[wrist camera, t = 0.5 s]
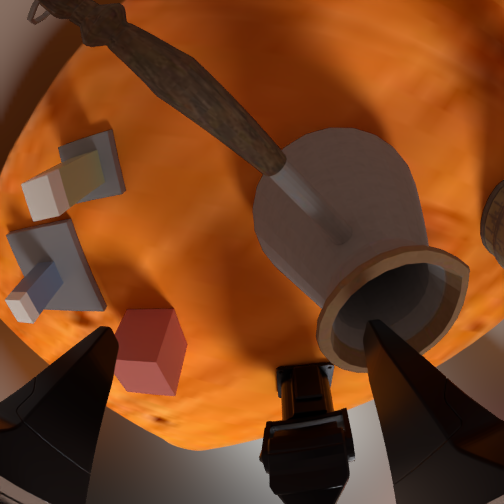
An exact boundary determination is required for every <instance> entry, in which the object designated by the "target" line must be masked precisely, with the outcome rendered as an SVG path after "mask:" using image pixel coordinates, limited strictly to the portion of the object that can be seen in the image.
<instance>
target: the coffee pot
mask: <svg viewBox="0 0 504 504" xmlns="http://www.w3.org/2000/svg"><path fill="white" fill-rule="evenodd" d="M39 4H40V5H41V6H43V7H44V8H45V9H46V10H47V11H46V12H45V13H43V15H41V16H39V17H38V18H36V19H33V18H34V15H35V12H36V10H37V7H38V5H39ZM50 14H52V15H53V16H54V17H56V18H59V19H70V21H71V22H73V23H74V24H76V25H78V26H79V27H80V30H81V36H82V41H83V44H85V45H86V46H90V47H95V46H103V45H106V46H108V48H109V49H110V50H111V51H112V52H113V53H114V54H115V55H116V56H117V57H118V58H120V59H121V60H122V61H123V62H124V63H125V64H126V65H127V66H128V67H129V68H130V69H131V70H132V71H133V72H134V73H135V74H136V75H137V76H138V77H139V78H140V79H141V80H142V81H143V82H144V83H145V84H146V85H147V86H148V87H149V88H150V89H151V90H152V91H153V92H154V94H155V95H156V96H157V97H159V98H160V99H162V100H163V101H165V102H166V103H168V104H169V105H171V106H172V107H173V108H175V109H176V110H178V111H179V112H181V113H182V114H184V115H185V116H186V117H188V118H189V119H191V120H192V121H193V122H195V123H196V124H198V125H199V126H200V127H202V128H203V129H205V130H206V131H207V132H209V133H210V134H211V135H213V136H214V137H215V138H217V139H218V140H220V141H221V142H222V143H224V144H225V145H226V146H228V147H229V148H230V149H232V150H233V151H234V152H235V153H237V154H238V155H239V156H241V157H242V158H243V159H245V160H246V161H247V162H248V163H250V164H251V165H252V166H254V167H255V168H256V169H257V170H259V171H260V172H261V173H262V174H263V176H262V178H261V180H260V182H259V184H258V186H257V189H256V194H255V199H254V204H253V218H254V229H255V232H256V235H257V237H258V240H259V242H260V245H261V247H262V250H263V252H264V253H265V254H266V255H267V257H268V258H269V259H270V260H271V262H272V263H273V264H274V266H275V267H276V268H278V269H279V270H280V271H281V272H282V273H283V274H284V275H285V276H286V277H287V278H289V279H290V280H291V281H292V282H293V283H294V284H295V285H296V286H297V287H298V288H300V289H301V290H302V291H303V292H304V293H305V294H306V295H307V296H308V297H310V298H311V299H312V300H313V301H314V302H315V303H316V304H317V305H318V306H319V307H321V308H322V310H321V312H320V315H319V317H318V320H317V331H316V338H317V341H318V345H319V348H320V350H321V352H322V353H323V354H324V355H325V357H326V358H327V359H328V360H329V361H330V362H331V363H332V364H334V365H336V366H338V367H339V368H341V369H344V370H348V371H352V372H357V373H368V370H367V363H366V357H365V351H364V345H363V336H364V332H365V328H366V323H367V321H368V320H373V319H380V320H381V321H382V322H384V323H385V324H386V325H387V326H388V327H389V328H391V329H392V330H393V331H394V332H395V333H396V334H398V335H399V336H400V337H401V338H402V339H403V340H405V341H406V342H407V343H408V344H409V345H410V346H412V347H413V348H414V349H415V350H416V351H417V352H418V353H420V354H421V355H423V354H424V353H426V352H427V351H428V350H430V349H431V348H432V347H434V346H435V345H436V344H437V343H438V342H439V341H440V340H441V339H442V338H443V337H444V336H445V335H446V334H447V333H448V331H449V330H450V328H451V327H452V325H453V324H454V322H455V321H456V319H457V318H458V315H459V313H460V311H461V308H462V306H463V303H464V300H465V296H466V292H467V288H468V281H469V272H470V269H469V266H468V265H466V264H465V263H464V262H463V261H461V260H460V259H459V258H458V257H456V256H454V255H452V254H450V253H448V252H446V251H444V250H441V249H438V248H434V247H430V246H429V245H428V239H427V234H426V228H425V223H424V218H423V214H422V209H421V205H420V200H419V196H418V192H417V188H416V184H415V182H414V179H413V177H412V174H411V172H410V169H409V167H408V165H407V164H406V162H405V161H404V160H403V159H402V157H401V156H400V155H399V154H398V152H397V151H396V150H395V149H394V148H393V147H392V146H391V145H389V144H388V143H386V142H385V141H383V140H382V139H381V138H379V137H378V136H376V135H374V134H371V133H368V132H365V131H361V130H358V129H355V128H327V129H323V130H319V131H316V132H312V133H309V134H305V135H304V136H302V137H300V138H299V139H297V140H296V141H294V142H292V143H291V144H289V145H288V146H286V147H284V148H283V149H282V150H281V149H280V148H279V147H278V146H277V145H276V143H275V142H274V141H273V140H272V139H271V138H270V137H269V135H268V134H267V133H266V132H265V131H264V130H263V129H262V128H261V126H260V125H259V124H258V123H257V122H256V121H255V120H254V119H253V118H252V117H251V116H250V114H249V113H248V112H247V111H246V110H245V109H244V108H243V107H242V106H241V105H240V104H239V103H238V102H237V101H236V100H235V99H234V97H233V96H232V95H231V94H230V93H229V92H228V91H227V90H226V89H225V88H224V87H223V86H222V85H221V84H220V83H219V82H218V81H217V80H216V79H215V78H214V77H213V76H212V75H211V74H210V73H209V72H208V71H207V70H206V69H205V68H204V67H203V66H201V65H200V64H199V63H198V62H197V61H196V60H195V59H194V58H193V57H191V56H189V55H188V54H186V53H184V52H182V51H180V50H178V49H176V48H175V47H173V46H171V45H170V44H168V43H166V42H164V41H163V40H161V39H159V38H157V37H156V36H154V35H152V34H150V33H148V32H146V31H145V30H143V29H141V28H139V27H137V26H135V25H133V24H131V23H128V22H127V20H126V12H125V8H124V6H123V5H121V4H120V3H117V4H105V5H99V4H98V3H96V2H95V1H93V0H35V1H34V2H33V4H32V6H31V8H30V11H29V14H28V17H27V20H29V21H30V22H31V23H33V24H35V25H36V24H37V23H39V22H41V21H43V20H44V19H45V18H47V17H48V16H49V15H50Z"/></svg>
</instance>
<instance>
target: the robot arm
mask: <svg viewBox="0 0 504 504" xmlns="http://www.w3.org/2000/svg"><path fill="white" fill-rule="evenodd" d="M363 345H364V351H365V357H366V363H367V370H368V376H369V382H370V386H371V390H372V393H373V397H374V401H375V405H376V408H377V413H378V417H379V420H380V425H381V429H382V433H383V437H384V442H385V446H386V451H387V456H388V460H389V465H390V470H391V475H392V480H393V484H394V486H393V487H394V492H395V498H396V504H504V421H503V420H501V419H499V418H498V417H496V416H495V415H493V414H492V413H491V412H489V411H488V410H487V409H485V408H484V407H483V406H481V405H480V404H478V403H477V402H476V401H474V400H473V399H472V398H470V397H469V396H468V395H467V394H465V393H464V392H463V391H462V390H460V389H459V388H458V387H457V386H456V385H455V384H454V383H452V382H451V381H450V380H449V379H448V378H447V379H446V376H445V375H443V374H442V373H441V372H440V371H439V370H438V369H437V368H436V367H434V366H433V365H432V364H431V363H430V362H429V361H428V360H426V359H425V358H424V357H423V356H422V355H421V354H420V353H418V352H417V351H416V350H415V349H414V348H413V347H412V346H410V345H409V344H408V343H407V342H406V341H405V340H403V339H402V338H401V337H400V336H399V335H398V334H396V333H395V332H394V331H393V330H392V329H391V328H389V327H388V326H387V325H386V324H385V323H384V322H382V321H381V320H380V319H373V320H368V321H367V323H366V328H365V332H364V336H363ZM118 350H119V343H118V341H117V339H116V337H115V335H114V333H113V331H112V329H111V328H110V327H106V326H100V327H99V328H97V329H96V330H95V331H93V332H92V333H91V334H89V335H88V336H87V337H85V338H84V339H83V340H81V341H80V342H79V343H78V344H76V345H75V346H74V347H72V348H71V349H70V350H69V351H67V352H66V353H65V354H63V355H62V356H61V357H60V358H58V359H57V360H56V361H54V362H53V363H52V364H51V365H49V366H48V367H47V368H46V369H44V370H43V371H42V372H41V373H40V374H38V375H37V376H36V377H34V378H33V379H32V380H31V381H29V382H28V383H27V384H26V385H24V386H23V387H22V388H20V389H19V390H17V391H16V392H15V393H13V394H12V395H10V396H9V397H8V398H6V399H5V400H3V401H1V402H0V504H86V498H87V492H88V486H89V480H90V473H91V469H92V463H93V458H94V453H95V449H96V444H97V440H98V435H99V431H100V427H101V423H102V419H103V415H104V411H105V407H106V403H107V400H108V396H109V392H110V389H111V385H112V381H113V376H114V371H115V365H116V360H117V355H118ZM333 370H334V364H332V363H331V362H327V363H318V364H309V365H298V366H285V367H278V368H277V369H276V371H277V385H278V397H279V398H282V420H281V421H273V422H272V421H267V422H266V428H265V429H264V437H263V444H262V450H261V453H260V456H259V458H260V459H259V460H260V461H261V462H262V463H263V464H264V468H265V471H266V473H268V474H269V476H270V488H271V489H272V491H273V492H274V494H275V495H278V496H279V498H280V499H281V500H282V501H283V503H284V504H336V503H337V501H338V499H339V497H340V495H341V493H342V491H343V490H344V488H345V485H346V484H347V482H348V479H349V474H350V473H349V464H348V462H351V461H355V452H354V444H353V438H352V433H351V428H350V423H349V418H348V413H347V409H346V408H343V409H341V410H338V411H334V408H333V402H332V396H331V390H330V387H331V381H332V376H333ZM343 429H344V430H343Z"/></svg>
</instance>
